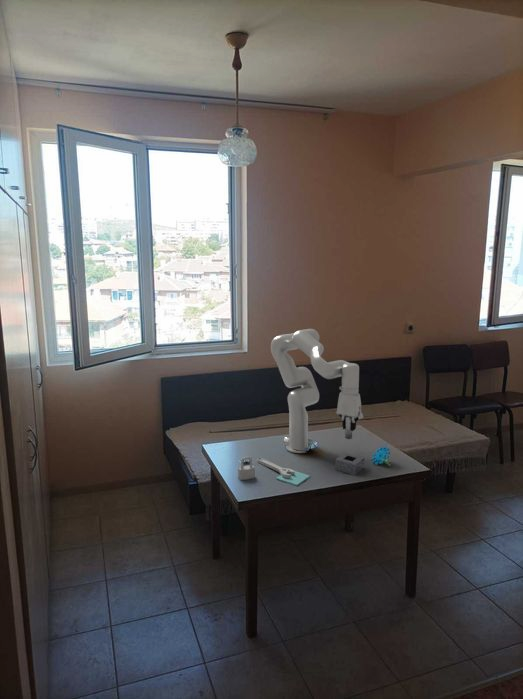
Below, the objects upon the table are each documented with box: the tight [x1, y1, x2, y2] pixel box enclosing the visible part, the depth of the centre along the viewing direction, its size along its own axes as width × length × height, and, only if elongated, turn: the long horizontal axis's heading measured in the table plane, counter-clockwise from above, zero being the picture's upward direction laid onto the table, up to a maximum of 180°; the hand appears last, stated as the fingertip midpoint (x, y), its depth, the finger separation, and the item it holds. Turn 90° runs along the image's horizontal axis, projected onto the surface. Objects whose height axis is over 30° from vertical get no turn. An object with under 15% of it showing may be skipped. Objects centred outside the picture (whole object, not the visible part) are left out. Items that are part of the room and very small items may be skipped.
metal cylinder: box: [344, 416, 354, 440], centre depth 226 cm, size 3×3×12 cm
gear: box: [371, 445, 391, 467], centre depth 237 cm, size 11×6×10 cm
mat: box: [275, 470, 311, 487], centre depth 221 cm, size 11×11×1 cm
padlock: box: [237, 456, 256, 481], centre depth 220 cm, size 7×4×10 cm, turn 113°
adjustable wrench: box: [256, 457, 296, 478], centre depth 230 cm, size 25×6×2 cm, turn 33°
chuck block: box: [334, 452, 366, 476], centre depth 230 cm, size 10×10×5 cm
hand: (349, 428), depth 227 cm, fingers closed on metal cylinder, 3 cm apart
